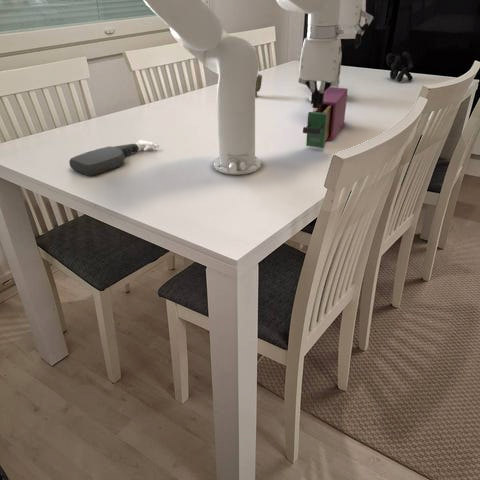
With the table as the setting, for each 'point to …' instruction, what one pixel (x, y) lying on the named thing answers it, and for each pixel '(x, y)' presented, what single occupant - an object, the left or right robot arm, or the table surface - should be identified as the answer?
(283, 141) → the table surface
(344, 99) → the tall purple box
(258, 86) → the cup
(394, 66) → the squiggle
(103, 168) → the spray bottle
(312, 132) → the drawer
